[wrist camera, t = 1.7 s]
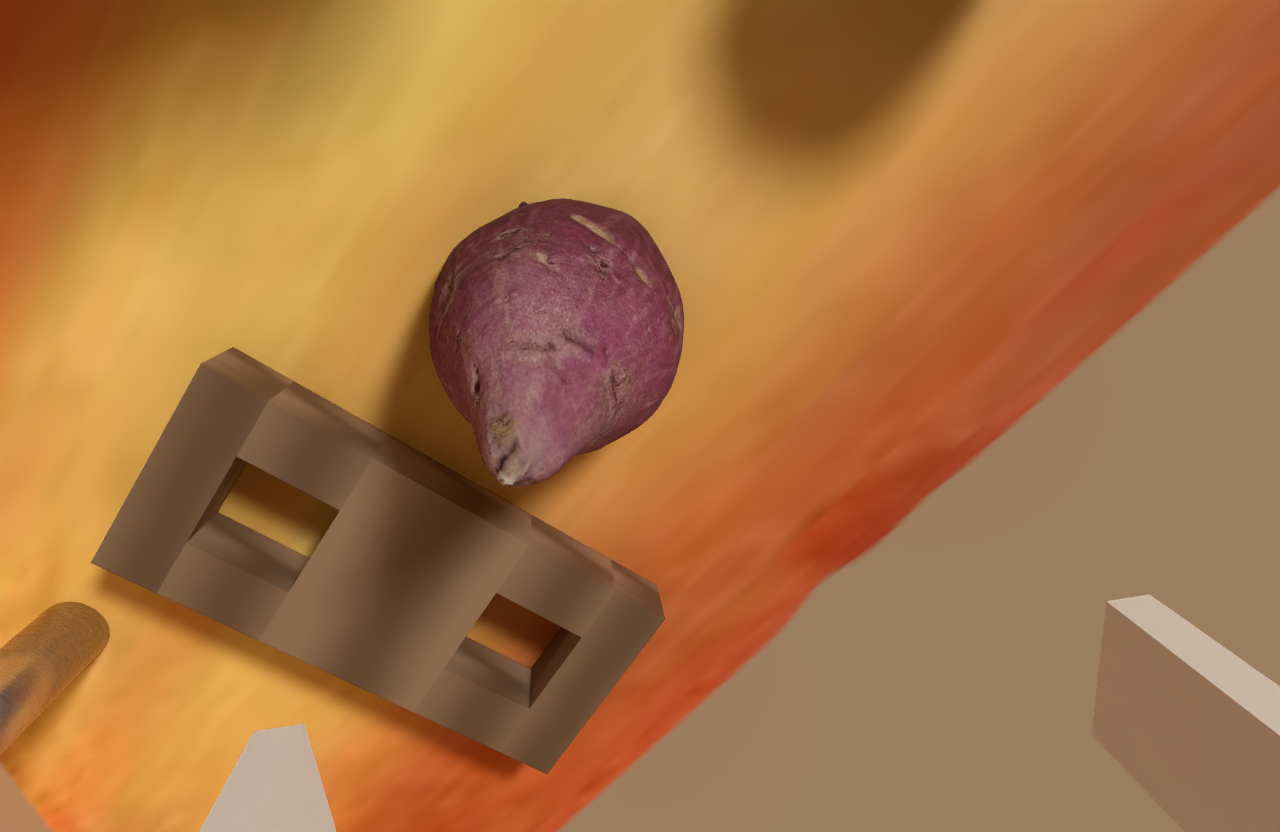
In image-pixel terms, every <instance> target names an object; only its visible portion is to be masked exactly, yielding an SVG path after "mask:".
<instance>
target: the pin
mask: <svg viewBox="0 0 1280 832" xmlns="http://www.w3.org/2000/svg"><path fill="white" fill-rule="evenodd" d="M109 636H110V632H109V627H108V624H107V622H106V620H105V619H104V618H103V616H102V615H101V614H100V613H99V612H97V611H96V610H95V609H93V608H91V607H89V606H87V605H85V604H81V603H77V602H62V603H58V604H55V605H53V606H51V607H49V608H48V609H47V610H45V611H44V612H43V613H42V614H41V615H39V616H38V617H37V618H36V619H35V620H33V621H32V622H31V623H30V624H29V625H28V626H26V627H25V628H24V629H23V630H22V631H20V632H19V633H18V634H17V635H16V636H15V637H13V638H12V639H11V640H10V641H9V642H7V643H6V644H5V645H4V646H3V647H1V648H0V755H1V754H2V753H3V752H4V751H5V750H6V749H7V748H8V747H9V746H10V745H11V744H12V743H13V742H14V741H15V740H16V739H17V738H18V737H19V736H20V735H21V734H22V733H23V732H24V731H25V729H26V728H27V727H28V726H29V725H30V724H31V723H32V722H33V721H34V720H35V719H36V718H37V717H38V716H39V715H40V714H41V713H42V712H43V711H44V710H45V709H46V708H47V707H48V706H49V705H50V704H51V703H52V702H53V701H54V699H55V698H56V697H57V696H58V695H59V694H60V693H61V692H62V691H63V690H64V689H65V688H66V687H67V686H68V685H69V684H70V683H71V682H72V681H73V680H74V679H75V678H76V677H77V676H78V675H79V674H80V673H81V672H82V671H83V669H84V668H85V667H86V666H87V665H88V664H89V663H90V662H91V661H92V660H93V659H94V658H95V657H96V656H97V655H98V654H99V653H100V652H101V651H102V650H103V649H104V648H105V646H106V645H107V643H108V641H109Z"/></svg>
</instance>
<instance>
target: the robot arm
mask: <svg viewBox="0 0 1280 832" xmlns="http://www.w3.org/2000/svg"><path fill="white" fill-rule="evenodd" d="M1092 736H1093V737H1094V738H1095V739H1096V740H1097V741H1098V742H1099V743H1100V744H1101V745H1102V746H1103V747H1104V748H1105V750H1106V751H1107V752H1108V753H1109V754H1110V755H1111V756H1112V757H1113V758H1114V759H1115V760H1116V761H1117V762H1118V763H1119V764H1120V765H1121V766H1122V767H1123V768H1124V769H1125V770H1126V772H1127V773H1129V775H1130V776H1131V777H1132V778H1133V779H1134V780H1135V781H1136V782H1137V783H1138V784H1139V785H1140V786H1141V787H1142V788H1143V789H1144V790H1145V791H1146V792H1147V793H1148V795H1150V797H1151V798H1152V799H1153V800H1154V801H1156V803H1157V804H1158V805H1159V806H1160V807H1161V808H1162V809H1163V810H1164V811H1165V812H1166V813H1167V814H1168V816H1170V818H1171V819H1172V820H1173V821H1174V822H1175V823H1176V824H1177V825H1178V826H1179V827H1180V828H1181V829H1182V830H1183V831H1184V832H1280V687H1279V686H1278V685H1276V684H1275V683H1274V682H1272V681H1271V680H1270V679H1268V678H1267V677H1265V676H1264V675H1262V674H1261V673H1260V672H1258V671H1257V670H1255V669H1254V668H1253V667H1251V666H1250V665H1248V664H1247V663H1246V662H1244V661H1243V660H1241V659H1240V658H1238V657H1237V656H1236V655H1234V654H1233V653H1231V652H1230V651H1229V650H1227V649H1226V648H1224V647H1223V646H1222V645H1220V644H1219V643H1217V642H1216V641H1214V640H1213V639H1212V638H1210V637H1209V636H1207V635H1206V634H1204V633H1203V632H1202V631H1200V630H1199V629H1197V628H1196V627H1195V626H1193V625H1192V624H1190V623H1189V622H1188V621H1186V620H1185V619H1183V618H1182V617H1181V616H1179V615H1177V614H1176V613H1175V612H1173V611H1172V610H1171V609H1169V608H1168V607H1166V606H1165V605H1164V604H1162V603H1161V602H1159V601H1158V600H1156V599H1155V598H1154V597H1152V596H1151V595H1145V596H1137V597H1131V598H1125V599H1118V600H1111V601H1106V609H1105V619H1104V628H1103V637H1102V645H1101V655H1100V664H1099V673H1098V682H1097V691H1096V700H1095V709H1094V718H1093V727H1092ZM199 832H336V829H335V825H334V822H333V818H332V815H331V812H330V808H329V805H328V802H327V798H326V795H325V791H324V788H323V785H322V781H321V778H320V774H319V771H318V768H317V764H316V761H315V758H314V754H313V751H312V747H311V744H310V741H309V737H308V734H307V731H306V727H305V724H299V725H293V726H286V727H280V728H273V729H267V730H260V731H254V732H253V734H252V736H251V738H250V739H249V741H248V743H247V745H246V747H245V749H244V750H243V752H242V754H241V756H240V758H239V760H238V761H237V763H236V765H235V767H234V769H233V771H232V772H231V774H230V776H229V778H228V780H227V782H226V783H225V785H224V787H223V789H222V791H221V793H220V794H219V796H218V798H217V800H216V802H215V804H214V805H213V807H212V809H211V811H210V813H209V815H208V816H207V818H206V820H205V822H204V824H203V826H202V827H201V829H200V831H199Z"/></svg>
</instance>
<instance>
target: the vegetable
mask: <svg viewBox="0 0 1280 832" xmlns="http://www.w3.org/2000/svg"><path fill="white" fill-rule="evenodd" d="M429 333H430V348H431V355H432V360H433V363H434V366H435V368H436V371H437V374H438V377H439V379H440V381H441V383H442V385H443V387H444V389H445V391H446V393H447V395H448V397H449V398H450V400H451V401H452V403H453V404H454V405H455V407H456V408H457V410H458V411H459V412H460V413H461V414H462V415H463V417H464V418H465V419H466V420H467V421H468V422H469V423H471V425H472V428H473V431H474V434H475V435H476V439H477V443H478V447H479V451H480V453H481V456H482V460H483V461H484V463H485V465H486V466H487V468H488V469H489V470H490V472H491V473H492V475H493V476H494V477H495V478H496V479H497V480H498V481H499V483H500V484H502V485H507V486H515V487H517V486H528V485H532V484H536V483H538V482H540V481H543V480H545V479H548V478H549V477H551V476H552V475H554V474H556V473H557V472H558V471H559V470H560V469H561V468H562V467H563V466H564V465H565V464H566V463H567V462H568V461H569V460H570V459H571V458H572V457H574V456H575V455H576V454H583V453H588V452H591V451H594V450H598V449H600V448H602V447H604V446H605V445H607V444H609V443H611V442H613V441H615V440H617V439H619V438H621V437H623V436H624V435H626V434H628V433H630V432H631V431H633V430H634V429H636V428H638V427H639V426H640V425H642V424H643V423H644V422H645V421H647V420H648V419H649V418H650V417H651V416H652V415H653V414H654V412H655V411H656V410H657V409H658V407H659V406H660V404H661V402H662V401H663V399H664V398H665V396H666V395H667V393H668V392H669V390H670V388H671V386H672V383H673V381H674V378H675V375H676V372H677V368H678V364H679V360H680V356H681V352H682V343H683V333H684V312H683V304H682V299H681V295H680V292H679V289H678V287H677V284H676V282H675V279H674V277H673V275H672V273H671V271H670V269H669V267H668V265H667V263H666V261H665V259H664V257H663V256H662V254H661V252H660V250H659V248H658V247H657V245H656V243H655V242H654V240H653V239H652V237H651V236H650V234H649V233H648V231H647V230H646V229H645V228H644V227H643V226H642V225H641V224H640V223H639V222H638V221H637V220H636V219H634V218H633V217H632V216H630V215H628V214H626V213H624V212H622V211H618V210H615V209H611V208H607V207H603V206H600V205H596V204H592V203H588V202H583V201H576V200H571V199H551V200H547V201H543V202H536V203H532V204H530V203H529V204H527V203H526V202H522V203H521V204H520V205H519V207H518V208H517V209H514V210H512V211H510V212H509V213H507V214H505V215H503V216H501V217H499V218H497V219H495V220H493V221H491V222H490V223H488V224H486V225H484V226H482V227H480V228H478V229H477V230H475V231H474V232H472V233H471V234H470V235H469V236H468V237H466V238H465V239H464V240H463V241H461V242H460V243H459V244H458V245H457V246H456V247H455V248H454V249H453V250H452V252H451V253H450V255H449V256H448V258H447V260H446V262H445V264H444V266H443V267H442V270H441V272H440V274H439V276H438V279H437V281H436V283H435V292H434V296H433V300H432V304H431V309H430V314H429Z"/></svg>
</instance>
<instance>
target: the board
mask: <svg viewBox="0 0 1280 832" xmlns="http://www.w3.org/2000/svg"><path fill="white" fill-rule="evenodd" d="M247 462H248V463H250V464H252V465H254V466H256V467H257V468H259V469H261V470H263V471H265V472H267V473H269V474H271V475H273V476H275V477H277V478H278V479H280V480H282V481H284V482H286V483H288V484H290V485H292V486H294V487H296V488H297V489H299V490H301V491H303V492H305V493H307V494H309V495H311V496H313V497H315V498H317V499H318V500H320V501H322V502H324V503H326V504H328V505H330V506H332V507H334V508H336V509H338V510H339V513H338V514H337V516H336V518H335V519H334V521H333V522H332V524H331V526H330V527H329V529H328V530H327V532H326V534H325V535H324V537H323V538H322V540H321V542H320V543H319V545H318V546H317V548H316V549H315V551H314V553H313V554H312V556H311V557H310V558H308V557H306V556H304V555H302V554H300V553H298V552H296V551H294V550H292V549H290V548H288V547H286V546H284V545H282V544H280V543H278V542H276V541H274V540H272V539H270V538H268V537H266V536H264V535H262V534H260V533H258V532H256V531H254V530H252V529H250V528H248V527H246V526H244V525H242V524H240V523H238V522H236V521H234V520H232V519H230V518H228V517H226V516H224V515H222V514H220V513H218V510H219V509H220V507H221V505H222V504H223V502H224V500H225V498H226V497H227V495H228V493H229V492H230V490H231V488H232V486H233V485H234V483H235V481H236V480H237V478H238V476H239V475H240V473H241V471H242V469H243V468H244V466H245V464H246V463H247ZM91 563H92V564H94V565H96V566H99V567H101V568H103V569H105V570H107V571H109V572H111V573H114V574H116V575H118V576H120V577H122V578H124V579H127V580H129V581H131V582H133V583H135V584H137V585H140V586H142V587H144V588H146V589H148V590H150V591H153V592H155V593H157V594H159V595H161V596H163V597H165V598H168V599H170V600H172V601H174V602H176V603H178V604H181V605H183V606H185V607H187V608H189V609H191V610H194V611H196V612H198V613H200V614H202V615H204V616H207V617H209V618H211V619H213V620H215V621H217V622H219V623H222V624H224V625H226V626H228V627H230V628H232V629H235V630H237V631H239V632H241V633H243V634H245V635H248V636H250V637H252V638H254V639H256V640H258V641H261V642H263V643H265V644H267V645H269V646H271V647H273V648H276V649H278V650H280V651H282V652H284V653H286V654H289V655H291V656H293V657H295V658H297V659H299V660H302V661H304V662H306V663H308V664H310V665H312V666H315V667H317V668H319V669H321V670H323V671H325V672H327V673H330V674H332V675H334V676H336V677H338V678H340V679H343V680H345V681H347V682H349V683H351V684H353V685H356V686H358V687H360V688H362V689H364V690H366V691H369V692H371V693H373V694H375V695H377V696H379V697H381V698H384V699H386V700H388V701H390V702H392V703H394V704H397V705H399V706H401V707H403V708H405V709H407V710H410V711H412V712H414V713H416V714H418V715H420V716H422V717H425V718H427V719H429V720H431V721H433V722H435V723H438V724H440V725H442V726H444V727H446V728H448V729H451V730H453V731H455V732H457V733H459V734H461V735H464V736H466V737H468V738H470V739H472V740H474V741H476V742H479V743H481V744H483V745H485V746H487V747H489V748H492V749H494V750H496V751H498V752H500V753H502V754H505V755H507V756H509V757H511V758H513V759H515V760H518V761H520V762H522V763H524V764H526V765H528V766H530V767H533V768H535V769H537V770H539V771H541V772H543V773H546V774H548V772H549V771H550V770H551V769H552V767H553V766H554V765H555V763H556V762H557V761H558V759H559V758H560V757H561V755H562V754H563V753H564V751H565V750H566V749H567V748H568V746H569V745H570V744H571V742H572V741H573V740H574V738H575V737H576V736H577V734H578V733H579V732H580V730H581V729H582V728H583V727H584V725H585V724H586V723H587V721H588V720H589V719H590V717H591V716H592V715H593V713H594V712H595V711H596V709H597V708H598V707H599V705H600V704H601V703H602V702H603V700H604V699H605V698H606V696H607V695H608V694H609V692H610V691H611V690H612V688H613V687H614V686H615V684H616V683H617V682H618V681H619V679H620V678H621V677H622V675H623V674H624V673H625V671H626V670H627V669H628V667H629V666H630V665H631V663H632V662H633V661H634V659H635V658H636V657H637V656H638V654H639V653H640V652H641V650H642V649H643V648H644V646H645V645H646V644H647V642H648V641H649V640H650V638H651V637H652V636H653V635H654V633H655V632H656V631H657V629H658V628H659V627H660V625H661V624H662V623H663V621H664V620H665V617H664V613H663V609H662V605H661V601H660V597H659V592H658V588H657V585H655V584H653V583H651V582H650V581H648V580H646V579H644V578H642V577H641V576H639V575H637V574H635V573H634V572H632V571H630V570H628V569H626V568H625V567H623V566H621V565H619V564H618V563H616V562H614V561H612V560H610V559H609V558H607V557H605V556H603V555H602V554H600V553H598V552H596V551H594V550H593V549H591V548H589V547H587V546H586V545H584V544H582V543H580V542H578V541H577V540H575V539H573V538H571V537H570V536H568V535H566V534H564V533H562V532H561V531H559V530H557V529H555V528H554V527H552V526H550V525H548V524H546V523H545V522H543V521H541V520H539V519H538V518H536V517H534V516H532V515H530V514H529V513H527V512H525V511H523V510H522V509H520V508H518V507H516V506H514V505H513V504H511V503H509V502H507V501H506V500H504V499H502V498H500V497H498V496H497V495H495V494H493V493H491V492H490V491H488V490H486V489H484V488H482V487H481V486H479V485H477V484H475V483H474V482H472V481H470V480H468V479H466V478H465V477H463V476H461V475H459V474H458V473H456V472H454V471H452V470H450V469H449V468H447V467H445V466H443V465H442V464H440V463H438V462H436V461H434V460H433V459H431V458H429V457H427V456H426V455H424V454H422V453H420V452H419V451H417V450H415V449H413V448H411V447H410V446H408V445H406V444H404V443H403V442H401V441H399V440H397V439H395V438H394V437H392V436H390V435H388V434H387V433H385V432H383V431H381V430H379V429H378V428H376V427H374V426H372V425H371V424H369V423H367V422H365V421H363V420H362V419H360V418H358V417H356V416H355V415H353V414H351V413H349V412H347V411H346V410H344V409H342V408H340V407H339V406H337V405H335V404H333V403H331V402H330V401H328V400H326V399H324V398H323V397H321V396H319V395H317V394H315V393H314V392H312V391H310V390H308V389H307V388H305V387H303V386H301V385H299V384H298V383H296V382H294V381H292V380H291V379H289V378H287V377H285V376H283V375H282V374H280V373H278V372H276V371H275V370H273V369H271V368H269V367H267V366H266V365H264V364H262V363H260V362H259V361H257V360H255V359H253V358H251V357H250V356H248V355H246V354H244V353H243V352H241V351H239V350H237V349H235V348H234V347H232V348H230V349H229V350H227V351H225V352H223V353H221V354H219V355H217V356H215V357H213V358H211V359H209V360H207V361H205V362H203V363H202V364H201V365H200V366H199V368H198V370H197V372H196V374H195V375H194V377H193V379H192V381H191V383H190V384H189V386H188V388H187V390H186V392H185V394H184V395H183V397H182V399H181V401H180V403H179V404H178V406H177V408H176V410H175V412H174V413H173V415H172V417H171V419H170V421H169V422H168V424H167V426H166V428H165V430H164V431H163V433H162V435H161V437H160V439H159V441H158V442H157V444H156V446H155V448H154V450H153V451H152V453H151V455H150V457H149V459H148V460H147V462H146V464H145V466H144V468H143V469H142V471H141V473H140V475H139V477H138V479H137V480H136V482H135V484H134V486H133V488H132V489H131V491H130V493H129V495H128V497H127V498H126V500H125V502H124V504H123V506H122V507H121V509H120V511H119V513H118V515H117V516H116V518H115V520H114V522H113V524H112V526H111V527H110V529H109V531H108V533H107V535H106V536H105V538H104V540H103V542H102V544H101V545H100V547H99V549H98V551H97V553H96V554H95V556H94V558H93V560H92V562H91ZM496 593H498V594H500V595H501V596H503V597H505V598H507V599H509V600H511V601H513V602H515V603H517V604H519V605H520V606H522V607H524V608H526V609H528V610H530V611H532V612H534V613H536V614H538V615H540V616H541V617H543V618H545V619H547V620H549V621H551V622H553V623H555V624H557V625H559V626H561V627H562V628H561V629H560V631H559V632H558V633H557V635H556V636H555V637H554V639H553V640H552V642H551V643H550V644H549V646H548V647H547V648H546V650H545V651H544V652H543V654H542V655H541V657H540V658H539V659H538V661H537V662H536V663H535V665H534V666H533V668H532V669H529V668H527V667H525V666H523V665H521V664H519V663H517V662H515V661H513V660H511V659H509V658H507V657H505V656H503V655H501V654H499V653H497V652H495V651H493V650H491V649H489V648H487V647H485V646H483V645H481V644H479V643H477V642H475V641H473V640H471V639H469V638H467V637H466V636H467V634H468V633H469V631H470V630H471V628H472V627H473V625H474V624H475V623H476V621H477V620H478V618H479V617H480V615H481V614H482V613H483V611H484V610H485V608H486V607H487V605H488V604H489V603H490V601H491V600H492V598H493V597H494V595H495V594H496Z"/></svg>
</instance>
